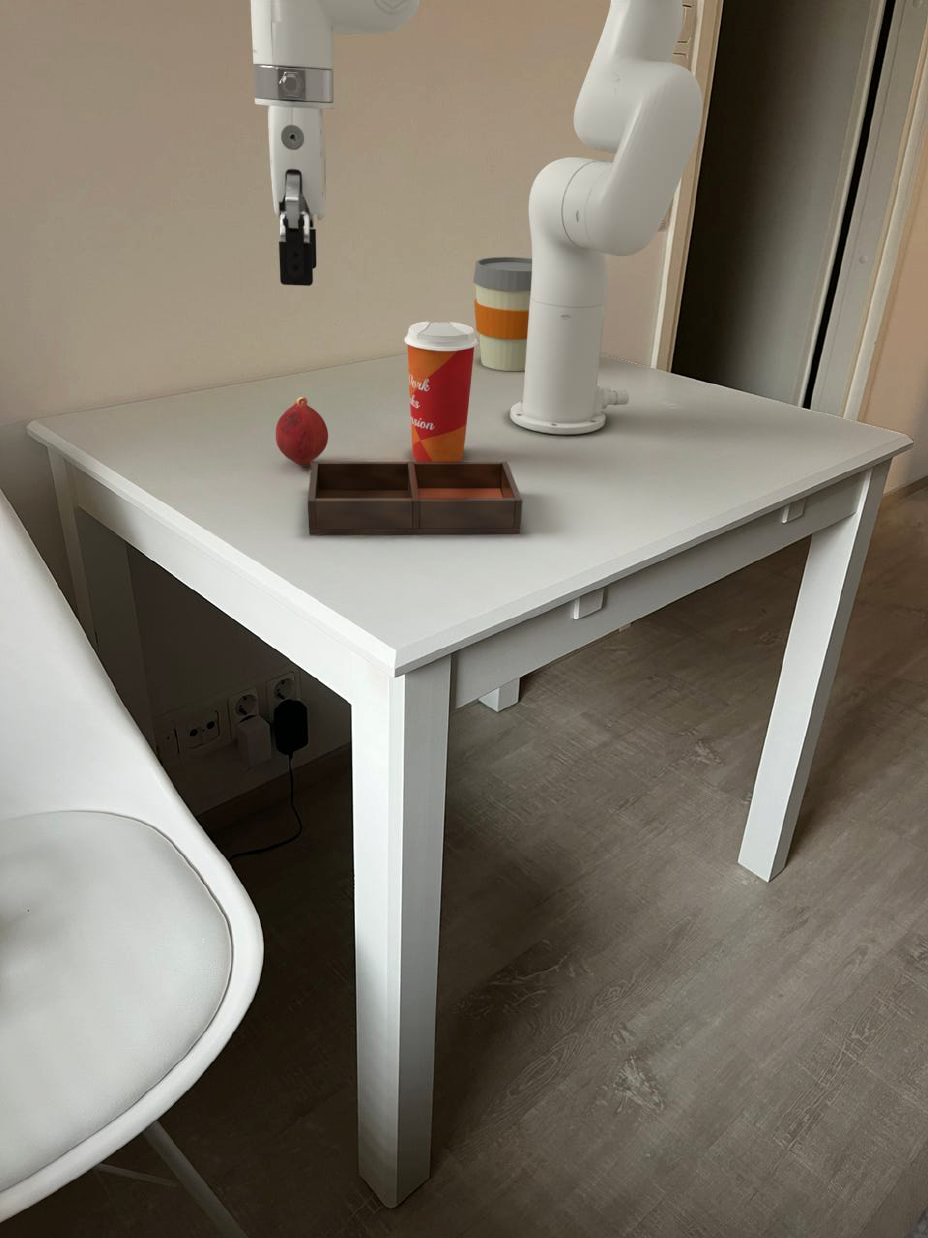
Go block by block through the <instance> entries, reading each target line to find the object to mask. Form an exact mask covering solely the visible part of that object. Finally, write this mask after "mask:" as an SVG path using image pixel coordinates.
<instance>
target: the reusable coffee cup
mask: <svg viewBox="0 0 928 1238" xmlns="http://www.w3.org/2000/svg"><path fill="white" fill-rule="evenodd" d="M531 279H532V257H531V258H530V257H517V256H493V257H485V258H480V259H478V260H476V261H475V266H474V274H473V281H472V282H473V283H474V284H475V296H476V298H475V299H474V301H473V303H474V316H475V318H474V319H475V329H476V332H477V333H478V334H479V347H480V350H479V351H480V358H481V359H480V361H481V364H482V365H483V366H485V368H489V369H493V370H497V371H503V372H504V371H505V372H525V362H526V348H527V334H528V320H529V306H530V295H531Z"/></svg>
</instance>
